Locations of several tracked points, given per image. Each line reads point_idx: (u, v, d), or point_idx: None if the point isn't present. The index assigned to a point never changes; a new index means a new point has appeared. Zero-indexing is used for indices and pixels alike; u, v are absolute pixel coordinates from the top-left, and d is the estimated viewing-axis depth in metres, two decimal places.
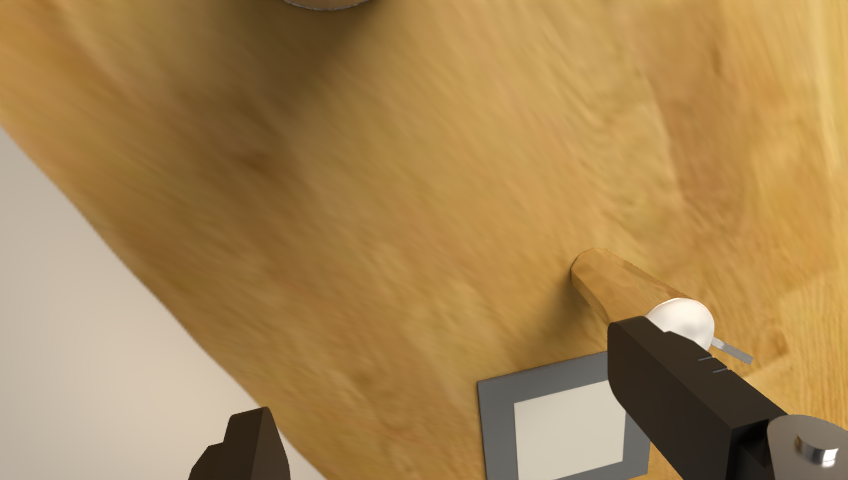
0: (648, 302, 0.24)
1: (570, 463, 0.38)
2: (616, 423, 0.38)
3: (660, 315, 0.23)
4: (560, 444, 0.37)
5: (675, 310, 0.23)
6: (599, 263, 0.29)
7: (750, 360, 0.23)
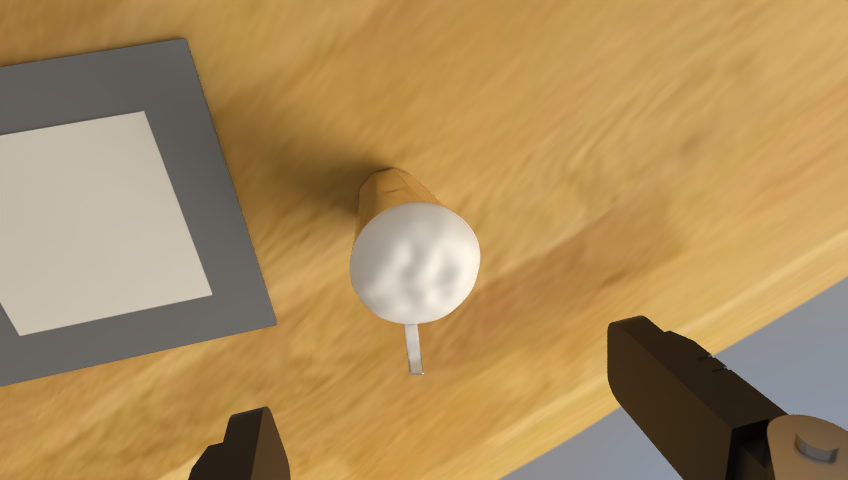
0: None
1: (1, 242, 0.21)
2: (109, 302, 0.23)
3: (467, 230, 0.16)
4: (50, 214, 0.21)
5: (475, 249, 0.16)
6: None
7: (417, 372, 0.16)
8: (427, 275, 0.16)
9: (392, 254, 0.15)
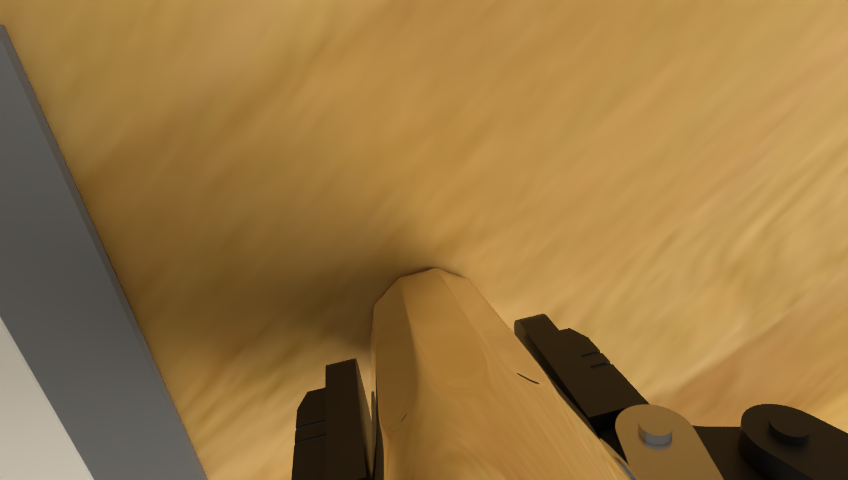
0: None
1: None
2: None
3: None
4: None
5: None
6: None
7: None
8: None
9: None
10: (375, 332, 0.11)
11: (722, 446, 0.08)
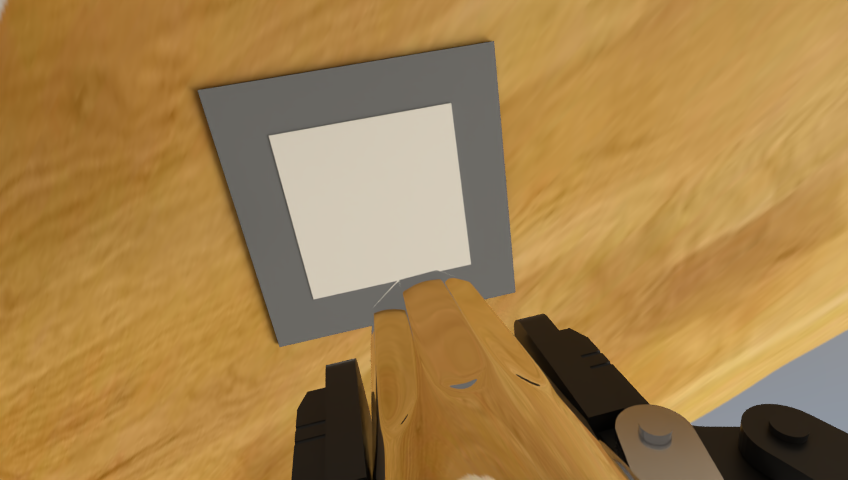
0: None
1: (317, 216, 0.25)
2: (389, 270, 0.26)
3: None
4: (361, 191, 0.24)
5: None
6: None
7: None
8: None
9: None
10: (375, 334, 0.11)
11: (722, 446, 0.08)
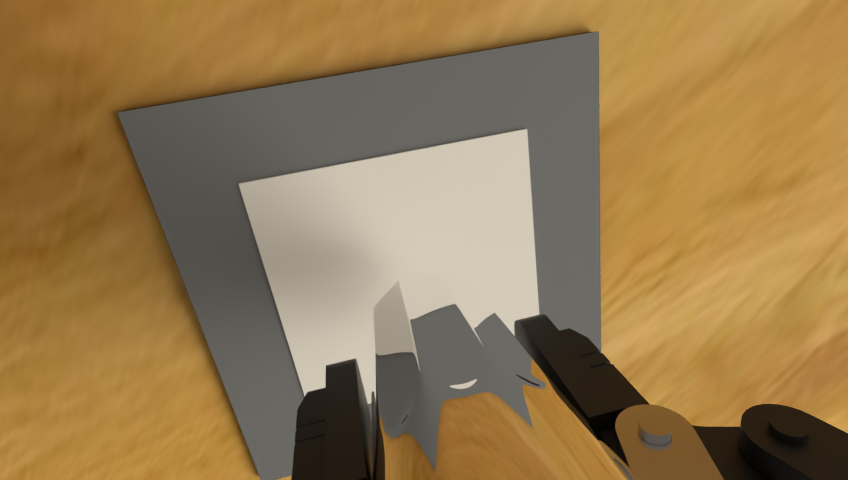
0: None
1: (316, 301, 0.16)
2: None
3: None
4: (384, 264, 0.16)
5: None
6: None
7: None
8: None
9: None
10: (375, 334, 0.11)
11: (722, 446, 0.08)
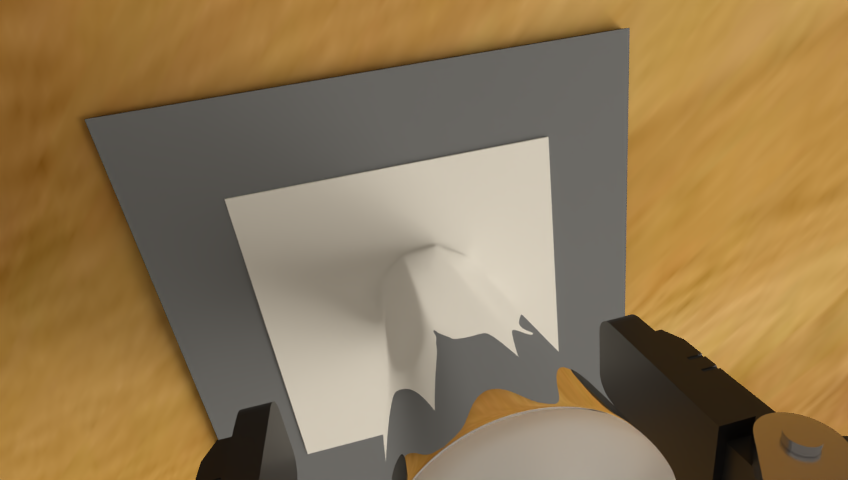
0: None
1: (313, 328, 0.14)
2: None
3: (664, 471, 0.07)
4: None
5: None
6: None
7: None
8: None
9: None
10: (383, 300, 0.13)
11: None
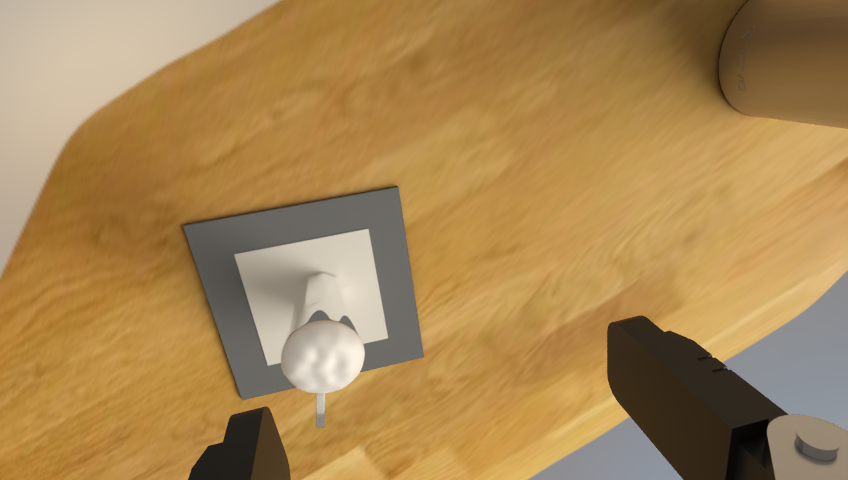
0: (354, 328, 0.27)
1: (270, 307, 0.33)
2: None
3: (354, 337, 0.26)
4: None
5: (359, 349, 0.26)
6: (343, 293, 0.32)
7: (320, 426, 0.26)
8: (328, 367, 0.26)
9: (305, 355, 0.25)
10: (297, 295, 0.32)
11: None
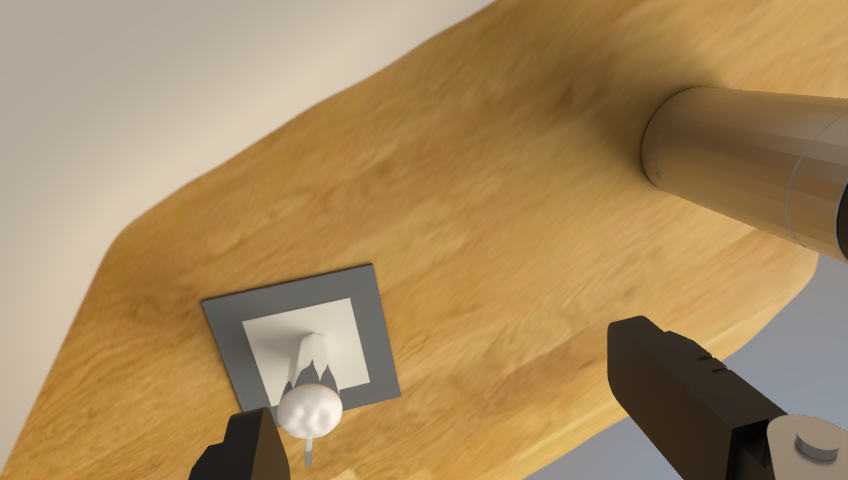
0: (334, 387, 0.35)
1: (272, 361, 0.41)
2: None
3: (333, 397, 0.34)
4: None
5: (337, 405, 0.34)
6: (329, 351, 0.40)
7: (308, 465, 0.33)
8: (312, 420, 0.33)
9: (294, 412, 0.33)
10: (292, 353, 0.40)
11: None
